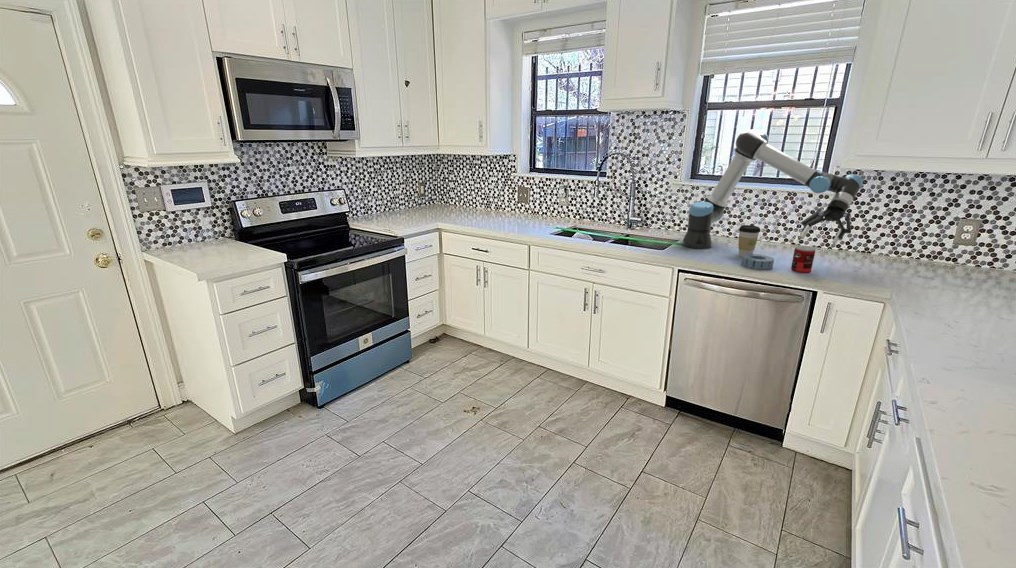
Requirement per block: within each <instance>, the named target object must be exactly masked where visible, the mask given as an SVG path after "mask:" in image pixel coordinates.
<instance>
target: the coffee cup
mask: <svg viewBox="0 0 1016 568" xmlns="http://www.w3.org/2000/svg"><path fill="white" fill-rule="evenodd" d="M738 231H739V232H738V256H739V257H742V258H743V255H746V254H754V251H755V249H756V244H757V242H758V238H759V234H760V232H761V229H760V227H759V226H756V225H750V224H746V225H745V224H744V225H740V227H739V228H738Z"/></svg>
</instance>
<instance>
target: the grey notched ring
mask: <svg viewBox="0 0 1016 568" xmlns="http://www.w3.org/2000/svg"><path fill="white" fill-rule="evenodd" d="M774 263H775V258H774V257H772V256H770V255H765V254H759V253H755V254H754V253H753V254H746V255H743V257H742V260H741V265H742V266H743V267H745V268H747V269H752V270H753V269H754V270H767V271H768V270H771V269H773V266H774Z"/></svg>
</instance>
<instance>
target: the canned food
mask: <svg viewBox="0 0 1016 568" xmlns="http://www.w3.org/2000/svg"><path fill="white" fill-rule="evenodd" d="M815 255H816V248H815V247H813V246H808V245H796V246H795V247H794V251H793V255H792V256H793V257H792V260H791V267H790V271H792V272H794V273H797V274H798V273H799V274H810V273H811V272H812V268H813V263H814V260H815Z"/></svg>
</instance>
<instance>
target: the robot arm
mask: <svg viewBox="0 0 1016 568" xmlns="http://www.w3.org/2000/svg"><path fill="white" fill-rule="evenodd" d="M757 160H759V161H761V162H763V163H764V164H767V165H768V166H770V167H772V168H774V169H775V170H777V171H779V172H780V173H783V174H784V175H786V176H788V177H790V178H792V179H793V180H794V181H796V182H799V183H801V184H802V185H804V186H806V187H807V188H809V189H810V191H812V192H813V193H815V194H823V193H825V192H831V193H834V196H833V197H832V199H831V201H830V202H829V203H828V205H827V207H826V209H825V210H821V209H820V208H818V209H817V210H815V212H814V213H813V214H811V215H810V216H808V217H807V218H805V219H804V220H803V221H802V222H801V224H802V226H803V227H802V229H801V231H802V232H801V234H800V239H801V240H805V238H806V236H807V234H808V232H809V231H810V230H811V227H812V226H815V225H817V224H819V223H822V222H832V223H835V222H836V223H837V225H838V227H839V230H838V232H837V233H836V234H835V236H834V238H833V240H832V244H833V246H836V245H837V244H838V241H839V240H842V239H843V238H844V235H845V234H851V233H852V226H851V218H852V215H851V212H847V210H848V208H849V207H850V206H851V204H852V202H853V200H855V197H856V196H857V194H858V193H859V191H860V189H861V187H862V186H863V183H864V180H863V178H862V176H860V175H858V174H852V173H851V174H847V175H846V176H845V177H844V176H839V175H835V174H832V173H829V172H827V171H826V172H825V171H821V170H816V169H814V168H812V167H810V166H808V165H807V164H804V162H801V161H799V160H797V159H796V158H794V157H792V156H790V155H788V154H786V153H784V152H783V151H781V150H779V149H777V148H775V147H773V146H772V145H770V144H769V136H768V135H767V133H766V132H765V131H763V130H761V129H759V128H758V129H757V128H756V129H755V128H753V129H747V130H744V131H742V132H741V133H740V134H739V135H738V136H737V137H736V140H735V149H734V156H733V158H732V160H731V162H730V163H729V165H728V166H727V167H726V170H725V171H724V173H723V174H722V176H721V178H720V180H719V181H718V183H717V185H716V186H715V187H714V190H713V191H712V193H711V194H709V195H707V196H706V197H705V199H704V201H696V202H693V203H691V204H690V206H689V210H688V212H689V213H688V222H687V231H686V233H685V235H684V238H683V239H682V246H683V247H685V248H690V249H695V250H696V249H697V250H699V249H700V250H702V249H703V250H705V249H706V250H707V249H710V248H712V245H713V242H712V237H711V227H712V224H713V223H716V222H718V221H719V220H720V219H721V218H722V217H723V215H724V213H725V212H724V211H725V209H726V207H727V201H728V199H729V197H730V195H731V194H732V192H733V191H734V189H735V188H736V186H737V184H738V183H739V181H741V178H742V176H743V175H744V173H745V172H746V171H747V169H748V167H749V166H750V164H751V163H752V162H755V161H757ZM846 212H847V213H846ZM843 218H844V219H845V223H846V228H845V226H844V224H843V223H842V220H841V219H843Z"/></svg>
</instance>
